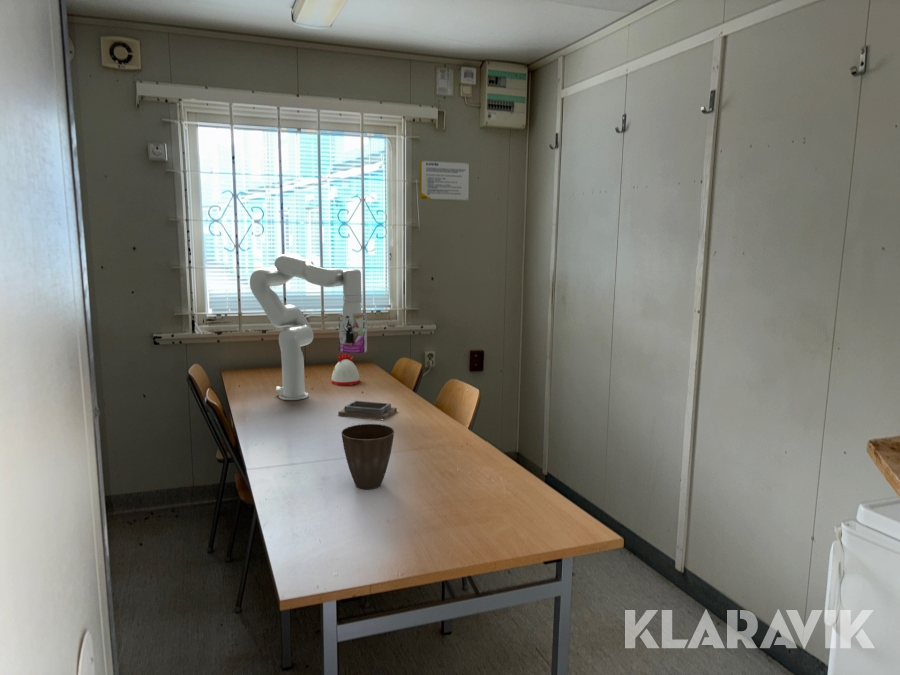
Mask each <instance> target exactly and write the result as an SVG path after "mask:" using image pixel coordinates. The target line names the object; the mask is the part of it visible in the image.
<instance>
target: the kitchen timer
mask: <svg viewBox="0 0 900 675" xmlns="http://www.w3.org/2000/svg"><path fill="white" fill-rule="evenodd" d="M336 359H337V360H338V362H337V363H336V364H335V366H334V367H333V371H332V374H331V377H330V378H331V379H330V380H331V384H332V385H334V384H335V386H342V385H346V386H354V385H353V384H355V385H357V383H358V384H360V383H359V382H360V378H361V377H360V374H359V370H358V368H357V366H356V365H355V363H354V362H353V359H354V356H351V354H350V353H339V354H338V355H336Z"/></svg>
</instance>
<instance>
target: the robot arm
mask: <svg viewBox="0 0 900 675" xmlns="http://www.w3.org/2000/svg"><path fill="white" fill-rule="evenodd" d="M294 277H295V278H299V279H302V280H305V281H306V282H308V283H309V284H312V285H316V286H320V287H325V288H333V287H341V286H342V290H343V291H342V296H343V298H342V299H343V300H342V301H343V302H342V303H343V305H342V312H341V313H342V325H343V326H344V328H345V333H346V343H353V342H354V334H353V327H354V326H355V323H356V315H358V314H362V272H361V270H360V269H356V268H355V269H354V268H352V269H349V268H348V269H345V268H340V267H339V268H337V267H336V268H324V267H320V266H317V265H315V264H314V262H313V261H312V260H311V259H310V260H309V259H306V258H303V257H302V256H301V255H299V254H297V253H284V254H280V255H278V256H277V257H276V258H275V260H274V266H271V267H270V266H269V267H268V266H267V267H261V268H257V269H255V270H254V271H253V272H252V273H251V275H250V277H249V287H250V291H251V293H252V294H253V296H254V297H255V299H256V301H257V302H258V303H259V304H260V306H261V309H263V312H264V313H265V315H266V316H267V318H268V320H269V321H270V324H272V326H273V327H275V328H276V329H277V328H283V329H282V330H281V331H280V333H279V334H278V345H279V349H280V357H281V376H282V377H281V380H282V384H281V385H282V386H276V388H275V392H276V393H277V392H279V393H280V394H279V395H278V396H279V399H280V400H284V401H298V400H299V401H301V400H304V399H307V398H308V397H309V393H308V392H307V391H305V387H306V386H305V362H304V360H305V357H304V354H303V350H302V349H301V347H304V346H308V345H309V344H311V343H312V342H313V340H314V331H313V329H312V327H311V324H310V323H309V322H308V320H307V319H306V317H305V316H304V314H303V312H302V310H301V309H300V308H299V307H298V306H296V305H294V304H284V303H283V302H282V300H281V298H280V297H279V295H278V293H276V292H275V291H274V290H273V289H272V288H270V287H277V286H278V287H279V286H282V285H284V284H286V283H288V282H289V281H290V280H291V279H293V278H294ZM348 325H351V326H348ZM350 328H351V330H350Z"/></svg>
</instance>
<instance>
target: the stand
mask: <svg viewBox="0 0 900 675" xmlns="http://www.w3.org/2000/svg"><path fill="white" fill-rule="evenodd" d="M343 407H344V408H343V409H341V410H339V411H338V415H340V416H339V417H348V416H350V417H349V418H351V417H352V418H358V417H361V419H369V418H371V420H379V419H383V420H382V421H385V420H387V419H388V418H390V417H391V416H392V415H394V414H395V413H397V410H398V409H397V407H393V406H392V404H391V403H386V402H377V401H366V400H365V401H364V400H354V401H352V402H350V403H348V404H347V405H345V406H343ZM394 412H395V413H394ZM393 413H394V414H393ZM389 416H390V417H389ZM386 418H387V419H386Z"/></svg>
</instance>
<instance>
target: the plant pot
mask: <svg viewBox="0 0 900 675" xmlns="http://www.w3.org/2000/svg"><path fill="white" fill-rule="evenodd" d="M394 434H395V430H394V429H393V427H391V426H388V425H384V424H377V423H363V424H357V425H356V424H355V425H351V426H348V427H346V428H343V430H342V431H341V439H342V444H343V449H344V450H343V451H344V454H345V458H346V463H347V465H348V466H347V467H348V469H349V472H350V476H351V478H352V481H353V482H354V485H355V487H356V488H358V489H361V490H374V489H377V488H379V487H381V485H382V484H383V481H384V479H385V476H386V472H387V469H388V465H389V462H390V458H391V457H390V456H391V454H392V446H393V442H394V436H395V435H394Z"/></svg>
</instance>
